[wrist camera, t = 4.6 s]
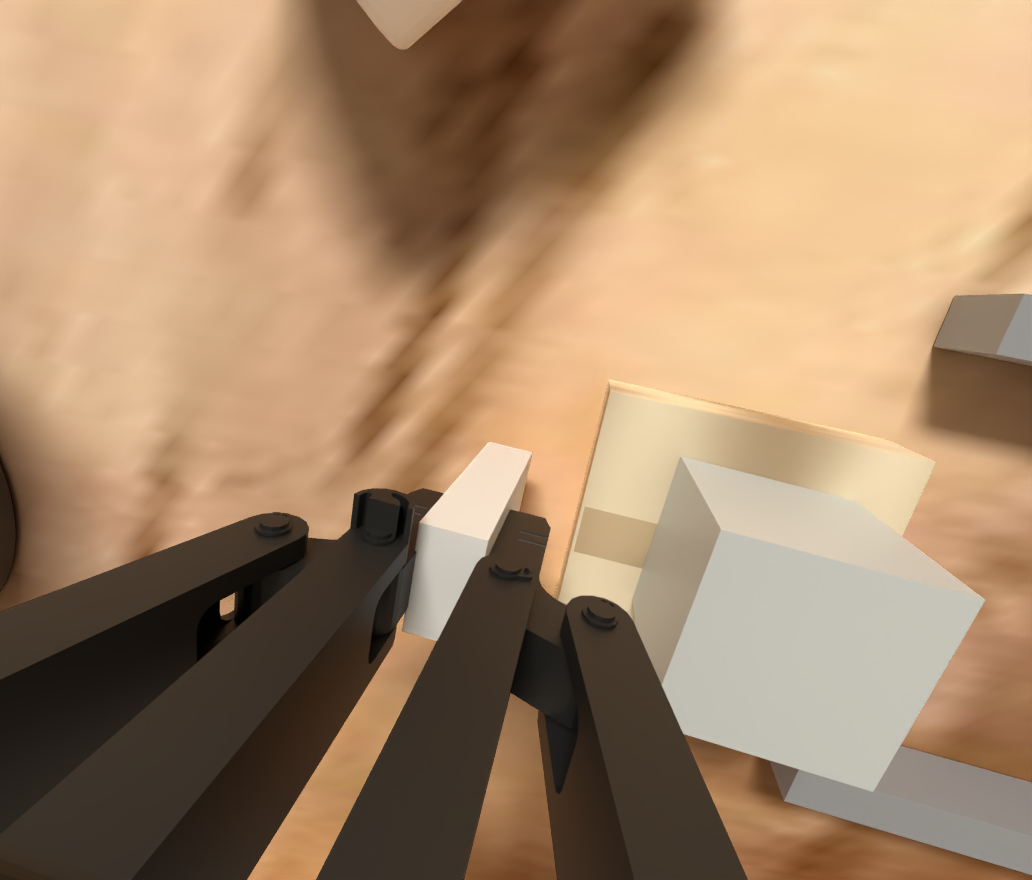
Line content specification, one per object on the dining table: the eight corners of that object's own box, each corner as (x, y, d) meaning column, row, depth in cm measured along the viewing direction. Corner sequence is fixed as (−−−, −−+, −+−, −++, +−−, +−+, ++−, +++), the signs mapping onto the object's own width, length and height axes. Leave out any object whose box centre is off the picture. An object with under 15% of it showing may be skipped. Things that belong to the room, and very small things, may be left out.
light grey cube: (632, 599, 16) (647, 722, 11) (680, 455, 15) (721, 529, 10) (788, 643, 16) (873, 791, 11) (854, 500, 14) (985, 599, 9)
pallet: (554, 596, 20) (546, 645, 17) (608, 377, 17) (610, 391, 15) (784, 657, 19) (817, 719, 16) (877, 435, 16) (936, 462, 14)
